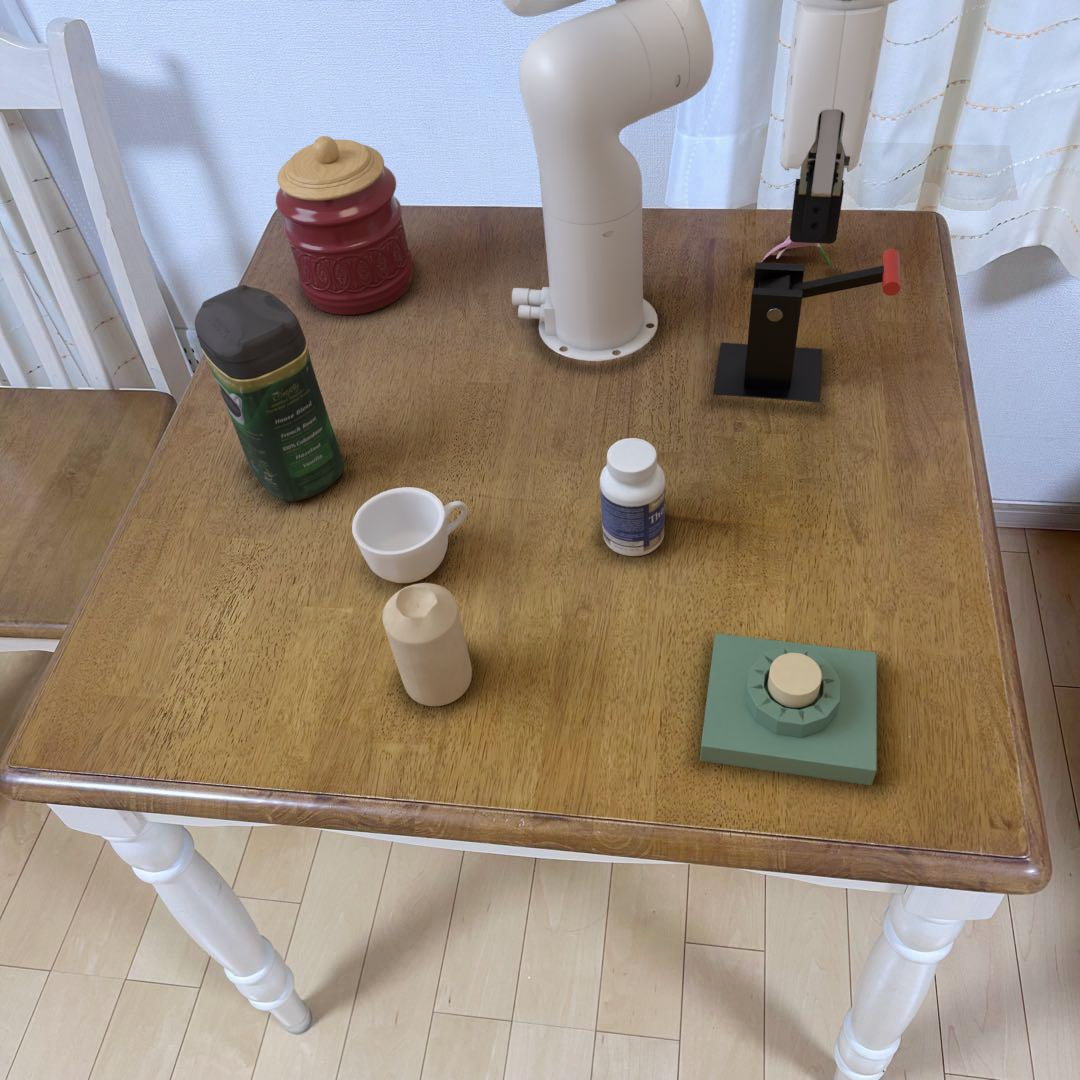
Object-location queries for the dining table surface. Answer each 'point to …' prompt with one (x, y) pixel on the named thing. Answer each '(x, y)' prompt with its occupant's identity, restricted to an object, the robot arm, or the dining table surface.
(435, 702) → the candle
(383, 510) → the teacup
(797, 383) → the bracket
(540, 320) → the robot arm
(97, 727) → the dining table surface
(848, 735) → the button box
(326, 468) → the coffee jar
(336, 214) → the kitchen canister
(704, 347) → the dining table surface
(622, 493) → the pill bottle
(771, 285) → the lever
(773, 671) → the button
